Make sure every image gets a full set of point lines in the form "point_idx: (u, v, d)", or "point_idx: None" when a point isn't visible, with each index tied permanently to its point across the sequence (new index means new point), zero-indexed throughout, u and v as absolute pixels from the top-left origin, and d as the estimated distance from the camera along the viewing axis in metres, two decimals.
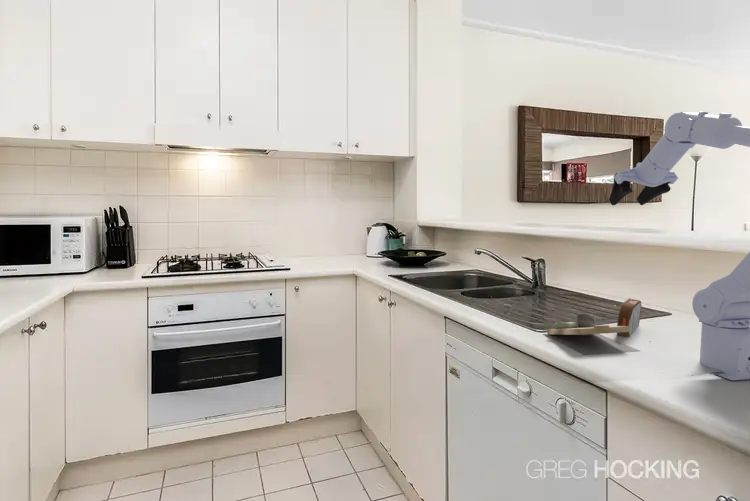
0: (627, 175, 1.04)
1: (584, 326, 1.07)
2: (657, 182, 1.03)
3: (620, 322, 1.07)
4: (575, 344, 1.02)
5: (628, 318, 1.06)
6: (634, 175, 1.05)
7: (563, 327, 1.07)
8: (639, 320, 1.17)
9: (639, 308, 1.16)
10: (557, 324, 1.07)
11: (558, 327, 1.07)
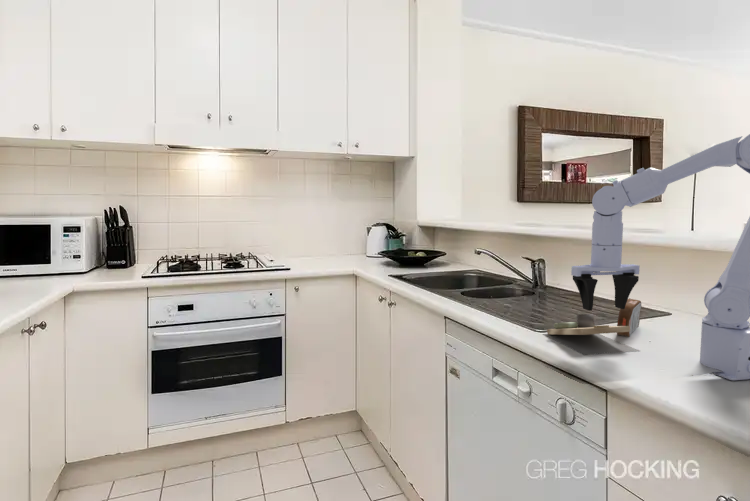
0: (582, 267, 0.96)
1: (584, 326, 1.07)
2: (617, 265, 0.95)
3: (620, 322, 1.07)
4: (575, 344, 1.02)
5: (628, 318, 1.06)
6: (590, 266, 0.97)
7: (563, 327, 1.07)
8: (639, 320, 1.17)
9: (639, 308, 1.16)
10: (557, 324, 1.07)
11: (558, 327, 1.07)
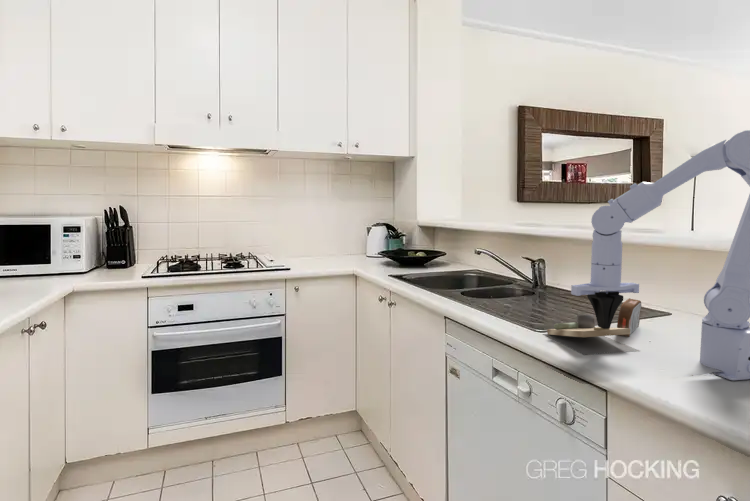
0: (582, 286, 0.96)
1: (584, 327, 1.07)
2: (616, 284, 0.95)
3: (620, 322, 1.07)
4: (575, 344, 1.02)
5: (628, 318, 1.06)
6: (590, 285, 0.97)
7: (563, 328, 1.07)
8: (639, 320, 1.17)
9: (639, 308, 1.16)
10: (557, 325, 1.07)
11: (558, 328, 1.06)
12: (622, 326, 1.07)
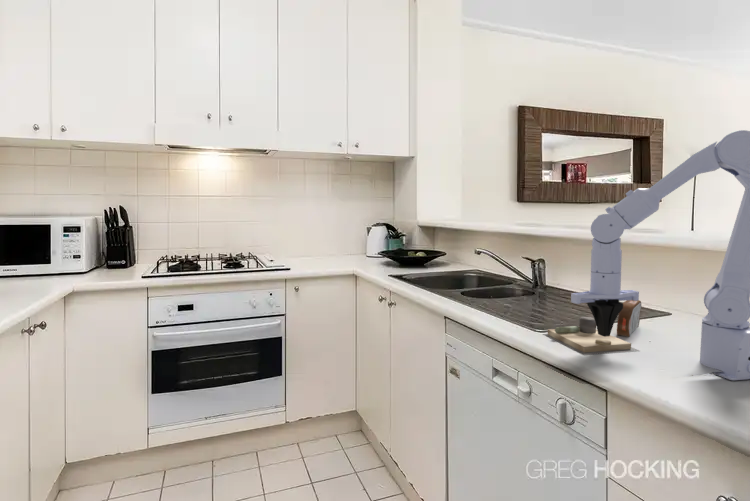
0: (582, 294, 0.97)
1: (585, 332, 1.06)
2: (616, 292, 0.95)
3: (620, 322, 1.07)
4: None
5: (628, 318, 1.06)
6: (590, 293, 0.97)
7: (564, 332, 1.06)
8: (639, 320, 1.17)
9: (639, 308, 1.16)
10: (559, 329, 1.06)
11: (559, 332, 1.06)
12: (622, 326, 1.07)
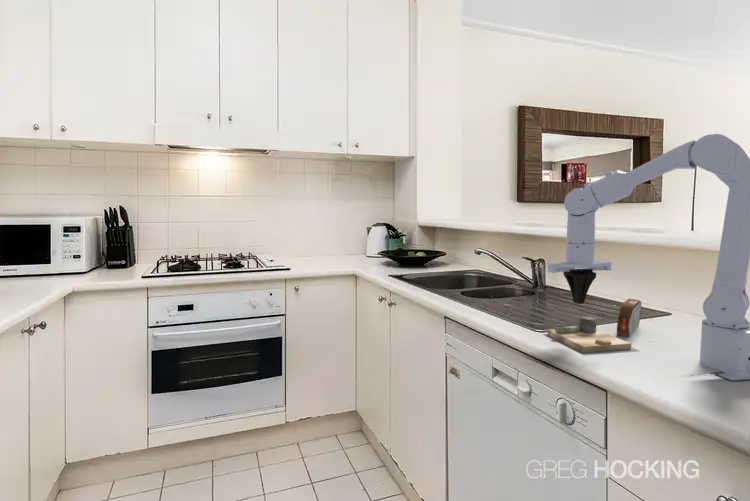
0: (558, 264, 1.03)
1: (585, 332, 1.06)
2: (589, 262, 1.02)
3: (620, 322, 1.07)
4: None
5: (628, 318, 1.06)
6: (565, 263, 1.04)
7: (564, 332, 1.06)
8: (639, 320, 1.17)
9: (639, 308, 1.16)
10: (559, 329, 1.06)
11: (559, 332, 1.06)
12: (622, 326, 1.07)
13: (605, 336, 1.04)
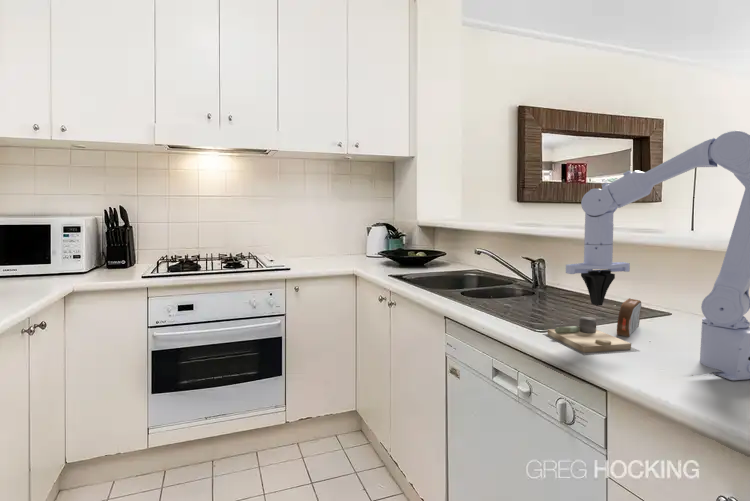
0: (576, 265, 1.02)
1: (585, 332, 1.06)
2: (608, 263, 1.00)
3: (620, 322, 1.07)
4: None
5: (628, 318, 1.06)
6: (583, 265, 1.02)
7: (564, 332, 1.06)
8: (639, 320, 1.17)
9: (639, 308, 1.16)
10: (559, 329, 1.06)
11: (559, 332, 1.06)
12: (622, 326, 1.07)
13: (605, 336, 1.04)
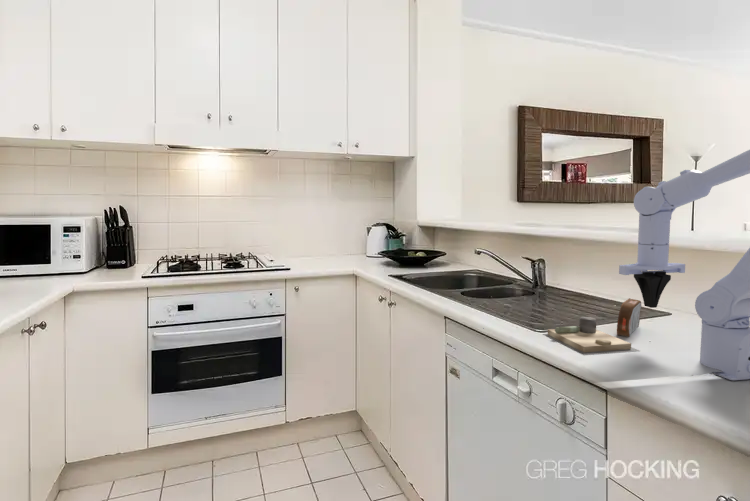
0: (630, 266, 0.99)
1: (585, 332, 1.06)
2: (664, 264, 0.97)
3: (620, 322, 1.07)
4: None
5: (628, 318, 1.06)
6: (638, 265, 0.99)
7: (564, 332, 1.06)
8: (639, 320, 1.17)
9: (639, 308, 1.16)
10: (559, 329, 1.06)
11: (559, 332, 1.06)
12: (622, 326, 1.07)
13: (605, 336, 1.04)
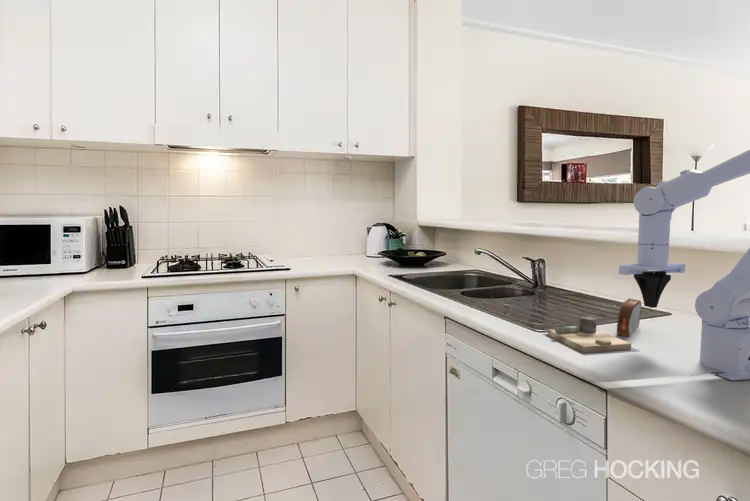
0: (630, 266, 0.99)
1: (585, 332, 1.06)
2: (664, 264, 0.97)
3: (620, 322, 1.07)
4: None
5: (628, 318, 1.06)
6: (638, 265, 0.99)
7: (564, 332, 1.06)
8: (639, 320, 1.17)
9: (639, 308, 1.16)
10: (559, 329, 1.06)
11: (559, 332, 1.06)
12: (622, 326, 1.07)
13: (605, 336, 1.04)
